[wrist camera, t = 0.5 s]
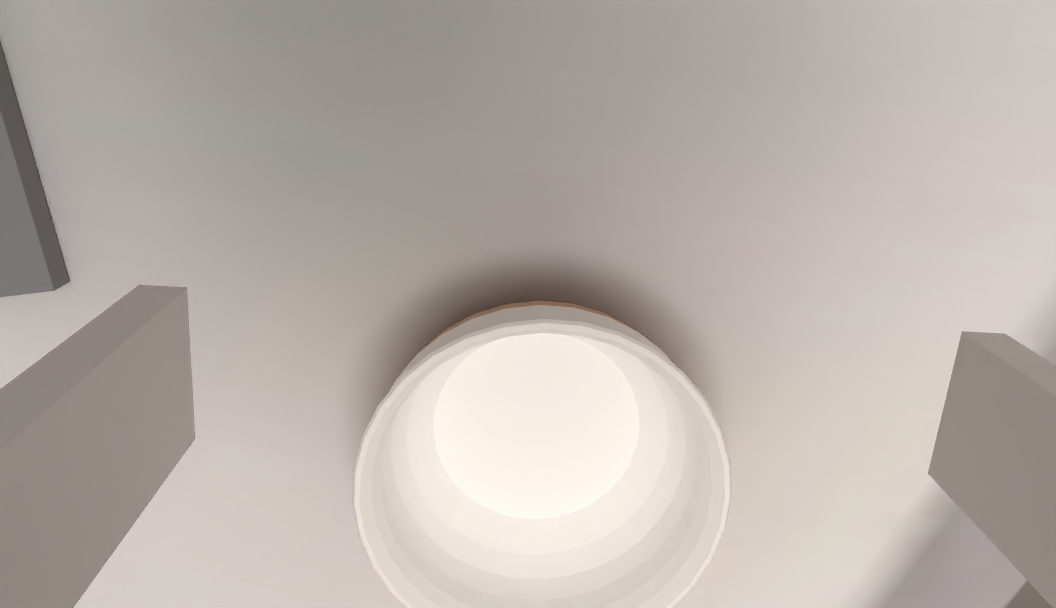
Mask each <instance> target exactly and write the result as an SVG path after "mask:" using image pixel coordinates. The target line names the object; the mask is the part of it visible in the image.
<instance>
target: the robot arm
mask: <svg viewBox="0 0 1056 608" xmlns="http://www.w3.org/2000/svg"><path fill="white" fill-rule="evenodd" d="M194 439H195V426H194V408H193V390H192V372H191V354H190V336H189V318H188V300H187V288H185V287H168V286H150V285H139V286H137V287H136V288H135V289H133V290H132V291H131V292H129V293H128V294H127V295H125V296H124V297H123V298H121V299H120V300H119V301H117V302H116V303H115V304H113V305H112V306H111V307H109V308H108V309H107V310H105V311H104V312H103V313H101V314H100V315H99V316H97V317H96V318H95V319H93V320H92V321H91V322H89V323H88V324H87V325H85V326H84V327H83V328H81V329H80V330H79V331H77V332H76V333H75V334H73V335H72V336H71V337H69V338H68V339H67V340H65V341H64V342H63V343H61V344H60V345H59V346H57V347H56V348H55V349H53V350H52V351H51V352H49V353H48V354H47V355H45V356H44V357H43V358H41V359H40V360H39V361H37V362H36V363H35V364H33V365H32V366H31V367H29V368H28V369H27V370H25V371H24V372H23V373H21V374H20V375H19V376H17V377H16V378H15V379H13V380H12V381H11V382H9V383H8V384H7V385H5V386H4V387H3V388H1V389H0V608H73V607H74V606H75V605H76V603H77V602H78V601H79V599H80V598H81V596H82V595H83V594H84V592H85V591H86V589H87V588H88V587H89V585H90V584H91V582H92V581H93V580H94V578H95V577H96V575H97V574H98V573H99V571H100V570H101V569H102V567H103V566H104V564H105V563H106V562H107V560H108V559H109V557H110V556H111V555H112V553H113V552H114V550H115V549H116V548H117V546H118V545H119V543H120V542H121V541H122V539H123V538H124V537H125V535H126V534H127V532H128V531H129V530H130V528H131V527H132V525H133V524H134V523H135V521H136V520H137V518H138V517H139V516H140V514H141V513H142V511H143V510H144V509H145V507H146V506H147V505H148V503H149V502H150V500H151V499H152V498H153V496H154V495H155V493H156V492H157V491H158V489H159V488H160V486H161V485H162V484H163V482H164V481H165V479H166V478H167V477H168V475H169V474H170V473H171V471H172V470H173V468H174V467H175V466H176V464H177V463H178V461H179V460H180V459H181V457H182V456H183V454H184V453H185V452H186V450H187V449H188V447H189V446H190V445H191V443H192V442H193V441H194ZM928 474H929V475H930V476H931V477H932V478H933V479H934V480H935V481H936V483H937V484H938V485H939V486H940V487H941V488H942V489H943V490H944V491H945V492H946V493H947V494H948V495H949V497H950V498H951V499H952V500H953V501H954V502H955V503H956V504H957V505H958V506H959V507H960V508H961V509H962V510H963V512H964V513H965V514H966V515H967V516H968V517H969V518H970V519H971V520H972V521H973V522H974V523H975V524H976V526H977V527H978V528H979V529H980V530H981V531H982V532H983V533H984V534H985V535H986V536H987V537H988V538H989V540H990V541H991V542H992V543H993V544H994V545H995V546H996V547H997V548H998V549H999V550H1000V551H1001V552H1002V553H1003V555H1004V556H1005V557H1006V558H1007V559H1008V560H1009V561H1010V562H1011V563H1012V564H1013V565H1014V566H1015V567H1016V569H1017V570H1018V571H1019V572H1020V573H1021V574H1022V575H1023V576H1024V577H1025V578H1026V579H1027V580H1028V581H1029V582H1030V584H1031V585H1032V586H1033V587H1034V588H1035V589H1036V590H1037V591H1038V592H1039V593H1040V594H1041V595H1042V596H1043V597H1044V599H1045V600H1046V601H1047V602H1048V603H1049V604H1050V605H1051V606H1052V607H1053V608H1056V366H1055V365H1054V364H1052V363H1050V362H1049V361H1047V360H1046V359H1044V358H1043V357H1041V356H1039V355H1038V354H1036V353H1035V352H1033V351H1031V350H1030V349H1028V348H1027V347H1025V346H1024V345H1022V344H1020V343H1019V342H1017V341H1016V340H1014V339H1013V338H1011V337H1009V336H1008V335H1006V334H999V333H981V332H964V331H962V334H961V338H960V342H959V346H958V350H957V355H956V359H955V363H954V367H953V371H952V375H951V380H950V384H949V388H948V392H947V396H946V400H945V404H944V409H943V413H942V417H941V421H940V425H939V429H938V434H937V438H936V442H935V446H934V450H933V454H932V459H931V463H930V467H929V471H928Z"/></svg>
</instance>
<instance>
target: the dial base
mask: <svg viewBox="0 0 1056 608" xmlns="http://www.w3.org/2000/svg"><path fill="white" fill-rule="evenodd" d="M67 282H69V277H68V274H67V270H66V267H65V263H64V260H63V256H62V253H61V250H60V246H59V243H58V239H57V236H56V232H55V229H54V226H53V222H52V219H51V215H50V212H49V208H48V205H47V202H46V198H45V195H44V191H43V188H42V184H41V181H40V178H39V174H38V171H37V167H36V164H35V160H34V157H33V154H32V150H31V147H30V143H29V140H28V136H27V133H26V129H25V126H24V123H23V119H22V116H21V112H20V109H19V105H18V102H17V99H16V95H15V92H14V88H13V85H12V81H11V78H10V75H9V71H8V68H7V64H6V61H5V57H4V54H3V51H2V47H1V44H0V297H4V296H13V295H21V294H29V293H37V292H46V291H54V290H56V289H58V288H59V287H61V286H62V285H64V284H66V283H67Z"/></svg>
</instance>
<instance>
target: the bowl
mask: <svg viewBox="0 0 1056 608" xmlns="http://www.w3.org/2000/svg"><path fill="white" fill-rule="evenodd" d="M730 499H731V472H730V459H729V455H728V451H727V448H726V444H725V440H724V436H723V432H722V429H721V427H720V425H719V423H718V421H717V419H716V417H715V415H714V414H713V412H712V410H711V408H710V406H709V404H708V402H707V400H706V398H705V397H704V396H703V395H702V394H701V392H700V391H699V390H698V389H697V388H696V386H695V385H694V384H693V383H692V382H691V381H690V379H689V378H688V377H687V376H686V375H685V373H684V372H683V371H682V370H680V369H679V368H678V367H676V366H675V365H674V364H673V362H672V361H671V360H670V359H669V358H668V356H667V355H666V354H665V353H664V352H663V351H662V350H661V349H659V348H658V347H657V346H655V345H654V344H653V343H652V342H650V341H649V340H648V339H647V338H645V337H644V336H643V335H641V334H640V333H639V332H638V331H636V330H635V329H634V328H632V327H631V326H630V325H628V324H626V323H624V322H622V321H620V320H618V319H616V318H614V317H612V316H610V315H608V314H606V313H604V312H601V311H598V310H594V309H591V308H587V307H583V306H580V305H576V304H573V303H564V302H551V301H529V302H520V303H511V304H505V305H501V306H498V307H495V308H491V309H488V310H485V311H481V312H478V313H475V314H473V315H471V316H469V317H467V318H465V319H464V320H462V321H460V322H458V323H456V324H454V325H452V326H450V327H448V328H447V329H445V330H444V331H443V332H442V333H440V334H439V335H438V336H437V337H435V338H434V339H433V340H432V341H431V342H429V343H428V344H427V345H426V346H424V347H423V348H422V349H421V350H420V352H419V353H418V354H417V355H416V356H415V357H414V358H413V359H412V361H411V362H410V363H409V364H408V365H407V367H406V368H405V369H404V370H403V371H402V373H401V374H400V375H399V376H398V378H397V379H396V380H395V381H394V383H393V385H392V387H391V389H390V391H389V393H388V394H387V395H386V396H385V397H384V399H383V400H382V401H381V402H380V403H379V405H378V407H377V409H376V411H375V413H374V415H373V416H372V418H371V420H370V422H369V424H368V426H367V428H366V430H365V432H364V434H363V436H362V440H361V444H360V447H359V451H358V455H357V459H356V462H355V466H354V478H353V506H354V512H355V517H356V522H357V528H358V533H359V536H360V538H361V541H362V543H363V545H364V548H365V550H366V552H367V555H368V557H369V559H370V562H371V564H372V566H373V567H374V568H375V570H376V571H377V573H378V574H379V576H380V577H381V578H382V580H383V581H384V583H385V584H386V585H387V587H388V588H389V590H390V591H391V593H392V594H393V595H394V596H395V597H397V598H398V599H399V600H400V601H401V602H402V603H403V604H404V605H405V606H406V607H407V608H672V607H673V606H674V605H675V604H676V603H677V602H678V601H679V600H680V599H681V598H682V597H683V596H684V595H685V594H686V593H687V592H688V591H689V590H690V589H691V588H692V587H693V586H694V584H695V583H696V581H697V580H698V578H699V577H700V575H701V574H702V573H703V571H704V570H705V568H706V567H707V565H708V564H709V562H710V561H711V559H712V557H713V555H714V552H715V550H716V548H717V545H718V543H719V540H720V538H721V536H722V533H723V531H724V528H725V525H726V520H727V515H728V509H729V504H730Z"/></svg>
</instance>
